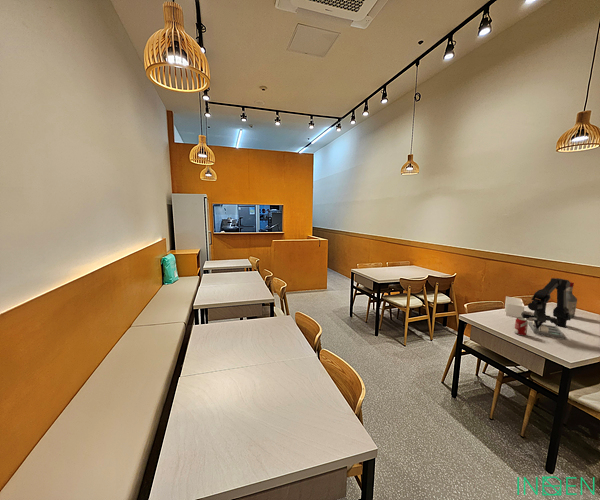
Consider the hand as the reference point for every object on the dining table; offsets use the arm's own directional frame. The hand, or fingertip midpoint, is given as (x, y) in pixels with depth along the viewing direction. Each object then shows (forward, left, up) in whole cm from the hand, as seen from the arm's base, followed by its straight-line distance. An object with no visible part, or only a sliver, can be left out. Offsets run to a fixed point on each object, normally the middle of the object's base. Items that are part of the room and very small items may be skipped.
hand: (537, 328), depth 180 cm
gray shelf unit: (-6, +6, -3) cm, 9 cm away
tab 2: (0, +3, -2) cm, 4 cm away
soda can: (+11, -11, -3) cm, 16 cm away
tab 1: (-12, +2, -2) cm, 12 cm away
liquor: (-57, +29, -3) cm, 64 cm away
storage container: (-40, -8, -3) cm, 41 cm away
